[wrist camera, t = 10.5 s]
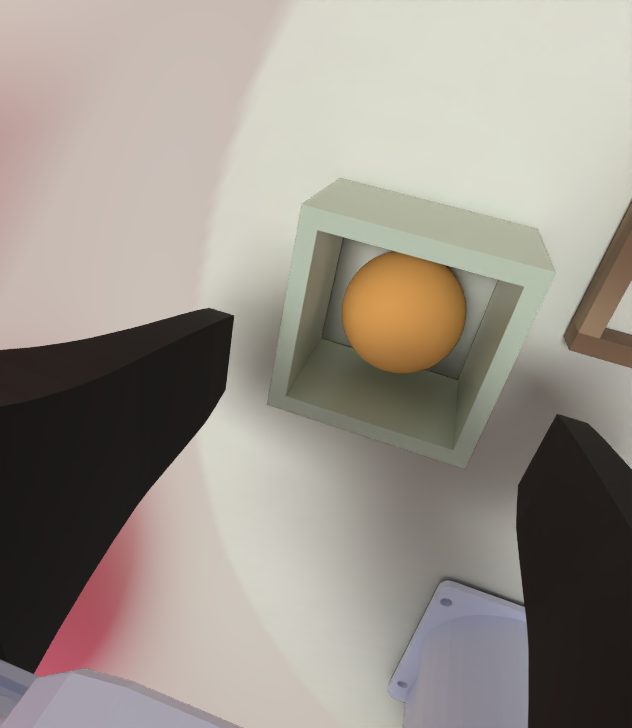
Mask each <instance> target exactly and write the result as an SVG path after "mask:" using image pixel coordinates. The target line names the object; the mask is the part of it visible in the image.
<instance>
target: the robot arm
mask: <svg viewBox="0 0 632 728" xmlns="http://www.w3.org/2000/svg"><path fill="white" fill-rule="evenodd" d="M233 321H234V315H230V314H227V313H224V312H221V311H217V310H214V309H211V308H207V309H201V310H196V311H193V312H189V313H185V314H181V315H178V316H174V317H171V318H167V319H163V320H160V321H156V322H153V323H149V324H146V325H142V326H138V327H135V328H131V329H126V330H122V331H118V332H114V333H110V334H106V335H101V336H97V337H93V338H88V339H83V340H78V341H72V342H66V343H60V344H53V345H46V346H40V347H30V348H19V349H7V350H0V728H242V727H240V726H238V725H235V724H233V723H230V722H228V721H226V720H223V719H221V718H218V717H216V716H214V715H212V714H209V713H207V712H205V711H202V710H200V709H198V708H195V707H193V706H190V705H188V704H186V703H183V702H181V701H179V700H176V699H174V698H172V697H169V696H167V695H165V694H162V693H160V692H157V691H155V690H153V689H150V688H148V687H146V686H143V685H141V684H139V683H136V682H134V681H130V680H127V679H123V678H119V677H116V676H111V675H108V674H104V673H101V672H97V671H93V670H89V669H86V668H84V669H78V670H73V671H68V672H62V673H56V674H52V675H48V676H44V677H39V676H37V675H34V672H35V671H36V669H37V667H38V665H39V664H40V662H41V660H42V658H43V656H44V655H45V653H46V651H47V649H48V648H49V646H50V644H51V642H52V640H53V639H54V637H55V635H56V634H57V632H58V630H59V628H60V627H61V625H62V623H63V622H64V620H65V618H66V617H67V615H68V613H69V612H70V610H71V608H72V607H73V605H74V603H75V602H76V600H77V598H78V597H79V595H80V593H81V592H82V590H83V588H84V586H85V585H86V583H87V581H88V580H89V578H90V577H91V575H92V574H93V572H94V571H95V569H96V567H97V566H98V564H99V563H100V561H101V560H102V558H103V556H104V555H105V553H106V552H107V550H108V549H109V547H110V545H111V544H112V542H113V541H114V539H115V538H116V536H117V535H118V533H119V532H120V530H121V529H122V527H123V526H124V524H125V523H126V521H127V520H128V518H129V517H130V515H131V514H132V512H133V511H134V509H135V508H136V506H137V505H138V504H139V502H140V501H141V500H142V498H143V497H144V496H145V494H146V493H147V492H148V491H149V489H150V488H151V487H152V485H154V483H155V482H156V481H157V480H158V479H159V477H160V476H161V475H162V474H163V472H164V471H165V470H166V469H167V468H168V467H169V466H170V464H171V463H172V462H173V461H174V459H175V458H176V457H177V456H178V455H179V454H180V453H181V451H182V450H183V449H184V448H185V447H186V445H187V444H188V443H189V442H190V441H191V439H192V438H193V437H194V436H195V435H196V433H197V432H198V431H199V430H200V428H201V427H202V426H203V425H204V423H205V422H206V421H207V419H208V418H209V416H210V414H211V413H212V411H213V410H214V408H215V407H216V405H217V403H218V401H219V400H220V398H221V396H222V395H223V393H224V391H225V390H226V381H227V373H228V364H229V355H230V347H231V338H232V329H233ZM516 530H517V541H518V551H519V560H520V569H521V578H522V587H523V596H524V605H525V607H523V606H520V605H518V604H515V603H512V602H509V601H506V600H504V599H501V598H498V597H495V596H492V595H490V594H487V593H484V592H481V591H479V590H476V589H473V588H470V587H467V586H465V585H462V584H459V583H456V582H453V581H444V582H441V583H440V584H439V586H438V588H437V590H436V592H435V594H434V596H433V598H432V600H431V602H430V604H429V606H428V608H427V610H426V612H425V614H424V616H423V618H422V619H421V621H420V623H419V625H418V627H417V629H416V631H415V633H414V635H413V637H412V639H411V641H410V643H409V645H408V647H407V649H406V651H405V653H404V655H403V657H402V659H401V661H400V663H399V665H398V667H397V669H396V671H395V673H394V675H393V677H392V679H391V681H390V683H389V686H388V693H389V695H390V696H391V697H392V698H394V699H397V700H399V701H402V702H404V703H405V711H404V720H403V728H632V469H631V468H630V467H629V466H628V465H627V464H626V463H625V462H624V460H623V459H622V458H621V457H620V456H619V455H618V454H617V453H616V452H615V451H614V449H613V448H612V447H611V446H610V445H609V444H608V443H607V442H606V441H605V440H604V439H603V438H602V437H601V436H600V435H599V434H598V433H597V432H596V431H595V430H594V429H593V428H592V427H591V426H590V425H589V424H588V423H585V422H581V421H578V420H575V419H572V418H568V417H565V416H562V415H559V414H557V415H556V417H555V419H554V420H553V422H552V424H551V426H550V428H549V430H548V431H547V433H546V435H545V437H544V439H543V441H542V442H541V444H540V446H539V448H538V450H537V452H536V453H535V455H534V457H533V459H532V461H531V463H530V464H529V466H528V468H527V470H526V472H525V474H524V475H523V477H522V479H521V481H520V483H519V485H518V496H517V517H516ZM445 598H447V599H445Z"/></svg>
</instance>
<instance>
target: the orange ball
mask: <svg viewBox="0 0 632 728" xmlns="http://www.w3.org/2000/svg"><path fill="white" fill-rule="evenodd" d="M465 319H466V303H465V297H464V293H463V290H462V288H461V285H460V283H459V282H458V280H457V278H456V277H455V275H454V274H453V273H452V272H451V270H450V269H449V268H448V267H447V266H446V265H443V264H439V263H436V262H432V261H428V260H425V259H421V258H417V257H414V256H410V255H407V254H403V253H399V252H396V251H393V252H389V253H385V254H383V255H380V256H378V257H376V258H374V259H372V260H371V261H369V262H368V263H366V264H365V265H364V266H363V267H362V268H361V269H360V270H359V271H358V272H357V273H356V274H355V275H354V277H353V278H352V280H351V281H350V283H349V285H348V287H347V290H346V292H345V295H344V299H343V304H342V322H343V327H344V330H345V333H346V336H347V338H348V340H349V342H350V344H351V346H352V347H353V349H354V350H355V351H356V352H357V353H358V354H359V356H361V357H362V358H363V359H364V360H365V361H366V362H368V363H369V364H371V365H373V366H374V367H376V368H379V369H381V370H384V371H388V372H392V373H413V372H418V371H421V370H425V369H427V368H429V367H432V366H434V365H435V364H437V363H438V362H440V361H441V360H442V359H443V358H445V357H446V356H447V355H448V354H449V353H450V352H451V351H452V349H453V348H454V347H455V345H456V344H457V342H458V340H459V338H460V336H461V334H462V331H463V328H464V324H465Z"/></svg>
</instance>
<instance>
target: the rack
mask: <svg viewBox="0 0 632 728" xmlns="http://www.w3.org/2000/svg"><path fill="white" fill-rule="evenodd" d="M631 280H632V203H631V205H630V207H629V209H628V211H627V213H626V215H625V217H624V219H623V221H622V223H621V225H620V227H619V229H618V231H617V233H616V235H615V237H614V239H613V241H612V243H611V245H610V247H609V249H608V251H607V253H606V255H605V257H604V259H603V260H602V262H601V264H600V266H599V268H598V270H597V272H596V274H595V276H594V278H593V280H592V282H591V284H590V286H589V288H588V290H587V292H586V294H585V296H584V298H583V300H582V302H581V304H580V306H579V308H578V310H577V312H576V314H575V316H574V318H573V320H572V322H571V324H570V326H569V328H568V330H567V332H566V334H565V339H566V342H567V345H568V348H569V350H571V351H574V352H578V353H581V354H584V355H588V356H591V357H595V358H598V359H602V360H605V361H609V362H612V363H616V364H619V365H623V366H626V367H630V368H632V335H628V334H625V333H621V332H618V331H614V330H610V329H607V328H606V326H607V324H608V322H609V320H610V318H611V317H612V315H613V313H614V311H615V309H616V307H617V306H618V304H619V302H620V300H621V298H622V297H623V295H624V293H625V291H626V289H627V287H628V286H629V284H630V282H631Z"/></svg>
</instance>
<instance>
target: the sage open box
mask: <svg viewBox="0 0 632 728" xmlns="http://www.w3.org/2000/svg"><path fill="white" fill-rule="evenodd" d="M343 237H344V238H348V239H352V240H355V241H359V242H363V243H366V244H370V245H374V246H377V247H381V248H385V249H388V250H392V251H396V252H399V253H403V254H407V255H410V256H414V257H417V258H421V259H425V260H428V261H432V262H436V263H439V264H443V265H447V266H450V267H454V268H458V269H461V270H465V271H469V272H472V273H476V274H480V275H483V276H487V277H491V278H494V279H498V282H497V285H496V287H495V290H494V292H493V295H492V297H491V300H490V302H489V305H488V307H487V310H486V312H485V315H484V317H483V319H482V322H481V324H480V327H479V329H478V332H477V334H476V337H475V339H474V342H473V344H472V347H471V349H470V352H469V354H468V357H467V359H466V362H465V364H464V367H463V369H462V372H461V374H460V377H459V379H458V380H456V379H452V378H449V377H446V376H442V375H439V374H436V373H433V372H429V371H426V370H421V371H418V372H413V373H392V372H388V371H384V370H381V369H379V368H376V367H374V366H373V365H371V364H369V363H368V362H366V361H365V360H364V359H363V358H362V357H361V356H359V354H358V353H357V352H356V351H355V350H354V349H353V348H350V347H347V346H344V345H340V344H337V343H334V342H331V341H327V340H324V339H321V335H322V331H323V326H324V322H325V317H326V313H327V308H328V304H329V299H330V295H331V290H332V286H333V281H334V277H335V272H336V268H337V263H338V259H339V254H340V249H341V245H342V240H343ZM555 273H556V271H555V269H554V267H553V264H552V262H551V259H550V257H549V254H548V252H547V250H546V247H545V245H544V242H543V240H542V237H541V235H540V233H539V230H538V229H536V228H532V227H528V226H524V225H520V224H517V223H513V222H509V221H505V220H501V219H497V218H493V217H489V216H485V215H482V214H478V213H474V212H470V211H466V210H462V209H458V208H454V207H450V206H447V205H443V204H439V203H435V202H431V201H427V200H423V199H419V198H416V197H412V196H408V195H404V194H400V193H396V192H392V191H388V190H384V189H381V188H377V187H373V186H369V185H365V184H361V183H357V182H353V181H349V180H346V179H342V178H339V179H337V180H336V181H335V182H333V183H332V184H330V185H329V186H327V187H326V188H324V189H323V190H321V191H320V192H318V193H317V194H316V195H314V196H313V197H311V198H310V199H308V200H307V201H305V202H304V203H302V204H301V209H300V215H299V221H298V227H297V233H296V238H295V244H294V250H293V256H292V262H291V268H290V273H289V279H288V285H287V291H286V297H285V303H284V308H283V314H282V320H281V326H280V332H279V338H278V344H277V349H276V355H275V361H274V367H273V373H272V379H271V384H270V390H269V396H268V402H267V405H270V406H273V407H276V408H279V409H282V410H285V411H288V412H291V413H294V414H297V415H300V416H304V417H307V418H310V419H313V420H316V421H319V422H322V423H325V424H328V425H331V426H334V427H337V428H340V429H343V430H346V431H349V432H352V433H355V434H358V435H361V436H365V437H368V438H371V439H374V440H377V441H380V442H383V443H386V444H389V445H392V446H395V447H398V448H401V449H404V450H407V451H410V452H413V453H416V454H419V455H422V456H426V457H429V458H432V459H435V460H438V461H441V462H444V463H447V464H450V465H453V466H456V467H459V468H462V469H465V468H466V466H467V464H468V462H469V460H470V458H471V455H472V453H473V451H474V449H475V447H476V445H477V442H478V440H479V438H480V436H481V434H482V432H483V429H484V427H485V425H486V423H487V421H488V419H489V416H490V414H491V412H492V410H493V408H494V406H495V403H496V401H497V399H498V397H499V395H500V393H501V390H502V388H503V386H504V384H505V382H506V380H507V377H508V375H509V373H510V371H511V369H512V367H513V364H514V362H515V360H516V358H517V356H518V354H519V351H520V349H521V347H522V345H523V343H524V341H525V338H526V336H527V334H528V332H529V330H530V328H531V325H532V323H533V321H534V319H535V317H536V314H537V312H538V310H539V308H540V306H541V304H542V301H543V299H544V297H545V295H546V293H547V291H548V288H549V286H550V284H551V282H552V280H553V278H554V275H555Z"/></svg>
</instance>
